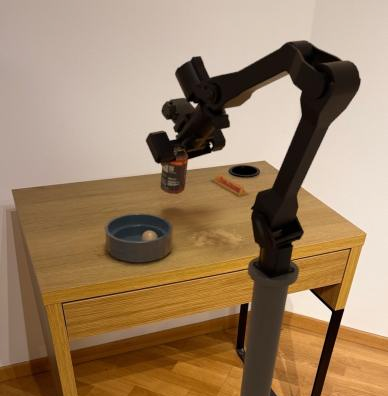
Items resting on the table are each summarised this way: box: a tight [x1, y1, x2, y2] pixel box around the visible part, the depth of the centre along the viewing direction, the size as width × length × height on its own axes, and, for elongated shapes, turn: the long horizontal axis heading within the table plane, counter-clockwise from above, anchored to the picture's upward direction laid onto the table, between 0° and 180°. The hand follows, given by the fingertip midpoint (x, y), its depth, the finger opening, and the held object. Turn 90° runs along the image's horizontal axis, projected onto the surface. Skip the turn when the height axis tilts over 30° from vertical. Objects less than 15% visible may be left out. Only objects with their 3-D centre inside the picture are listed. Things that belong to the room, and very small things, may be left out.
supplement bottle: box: [159, 150, 189, 195], centre depth 116 cm, size 6×6×11 cm
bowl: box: [104, 212, 173, 263], centre depth 107 cm, size 14×14×5 cm
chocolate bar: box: [213, 172, 247, 197], centre depth 137 cm, size 3×12×2 cm, turn 33°
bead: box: [141, 230, 158, 241], centre depth 107 cm, size 4×4×4 cm
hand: (172, 161), depth 116 cm, fingers closed on supplement bottle, 6 cm apart
